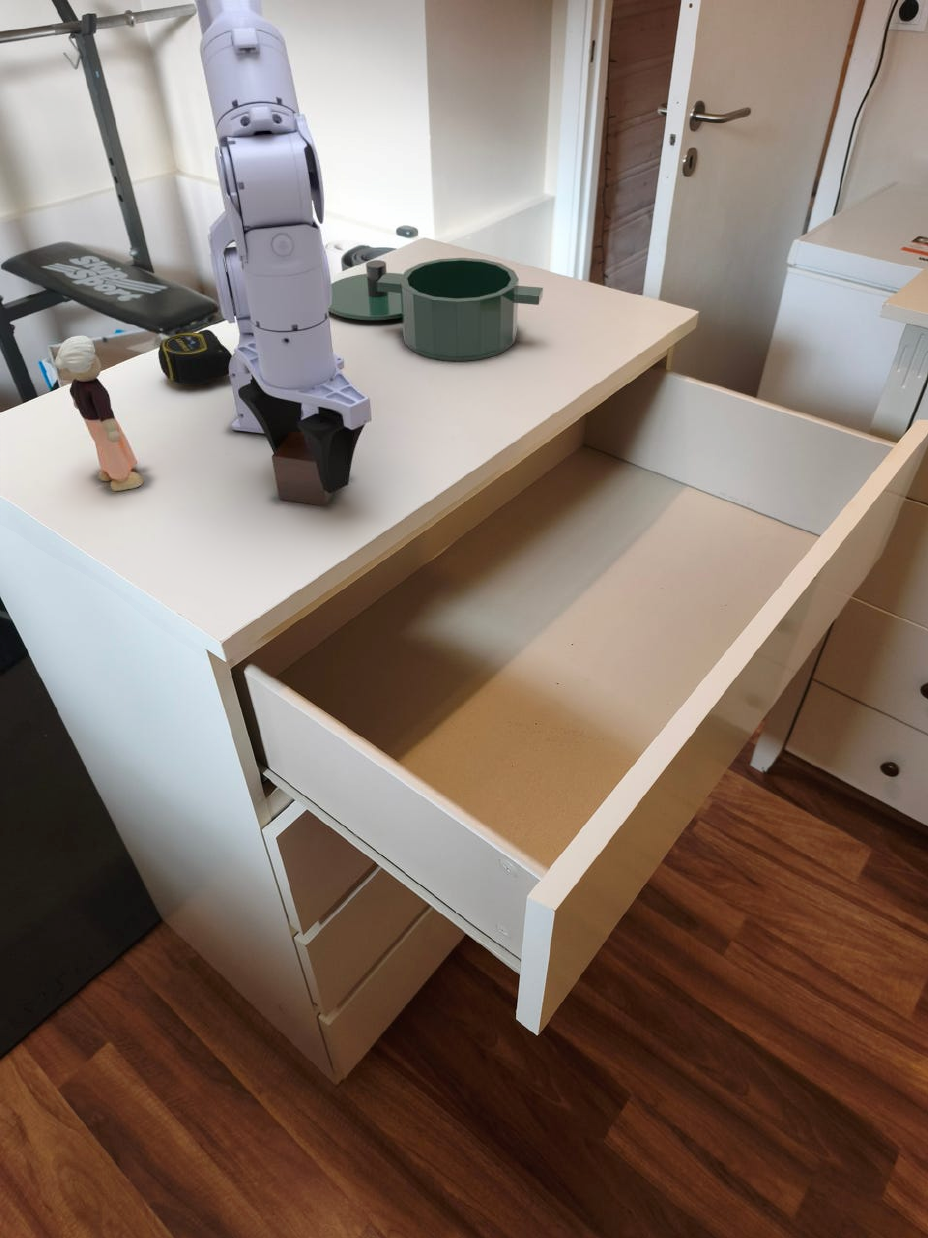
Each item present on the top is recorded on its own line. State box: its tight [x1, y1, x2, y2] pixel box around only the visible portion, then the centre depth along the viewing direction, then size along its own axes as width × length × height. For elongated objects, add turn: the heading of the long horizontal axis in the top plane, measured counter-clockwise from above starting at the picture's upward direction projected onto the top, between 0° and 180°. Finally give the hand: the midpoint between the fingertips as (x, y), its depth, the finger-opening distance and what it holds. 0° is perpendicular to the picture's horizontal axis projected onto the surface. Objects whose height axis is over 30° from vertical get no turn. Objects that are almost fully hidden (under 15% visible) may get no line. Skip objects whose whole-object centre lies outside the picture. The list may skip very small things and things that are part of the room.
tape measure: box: [157, 329, 233, 385], centre depth 88 cm, size 7×7×4 cm
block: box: [271, 431, 335, 507], centre depth 71 cm, size 4×4×4 cm
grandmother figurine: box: [54, 335, 144, 492], centre depth 70 cm, size 8×4×13 cm, turn 52°
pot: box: [377, 257, 544, 362], centre depth 94 cm, size 13×18×6 cm
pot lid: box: [328, 259, 404, 321], centre depth 102 cm, size 14×14×5 cm
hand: (313, 473), depth 72 cm, fingers closed on block, 5 cm apart
